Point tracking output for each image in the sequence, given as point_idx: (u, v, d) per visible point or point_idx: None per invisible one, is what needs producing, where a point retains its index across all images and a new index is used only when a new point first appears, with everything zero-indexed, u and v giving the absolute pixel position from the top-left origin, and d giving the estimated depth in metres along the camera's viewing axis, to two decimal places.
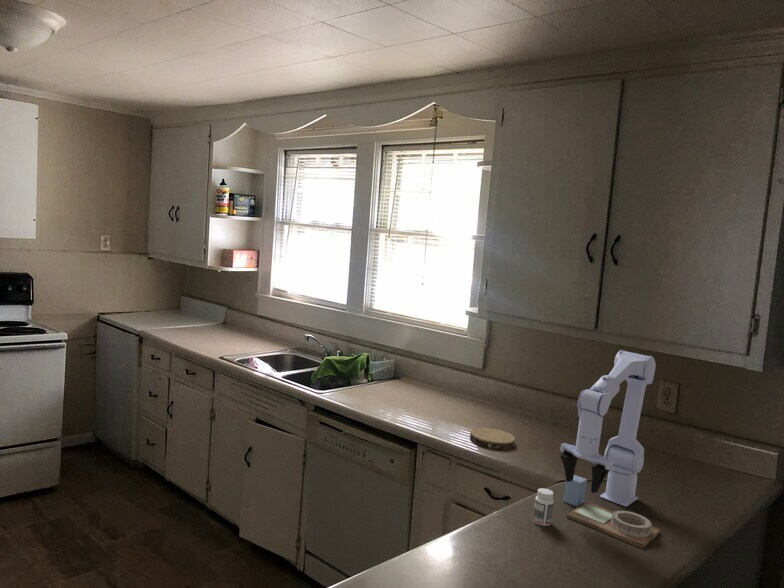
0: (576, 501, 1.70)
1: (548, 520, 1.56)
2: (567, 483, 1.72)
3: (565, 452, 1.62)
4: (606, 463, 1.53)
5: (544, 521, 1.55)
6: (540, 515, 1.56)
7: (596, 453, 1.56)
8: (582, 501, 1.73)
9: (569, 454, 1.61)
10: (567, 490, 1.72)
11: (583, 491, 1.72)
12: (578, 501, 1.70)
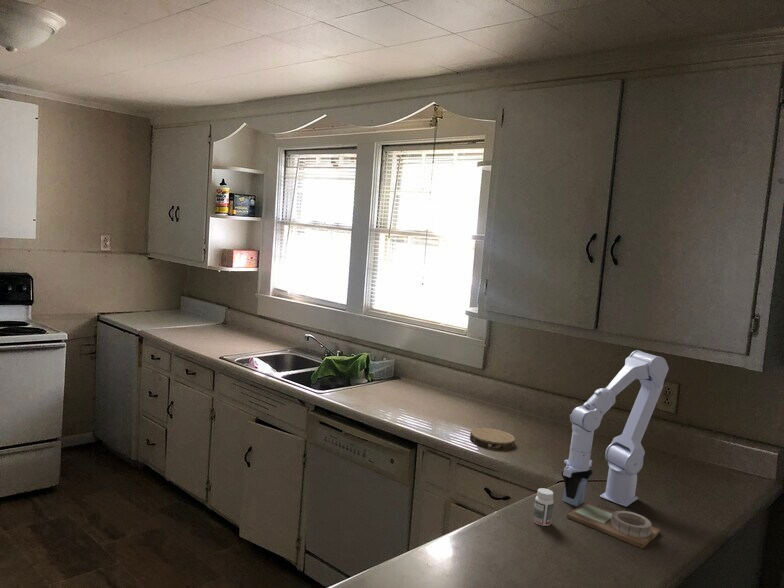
0: (576, 501, 1.70)
1: (548, 520, 1.56)
2: None
3: None
4: None
5: (544, 521, 1.55)
6: (540, 515, 1.56)
7: (574, 463, 1.70)
8: (582, 501, 1.73)
9: None
10: None
11: (583, 491, 1.72)
12: (578, 501, 1.70)
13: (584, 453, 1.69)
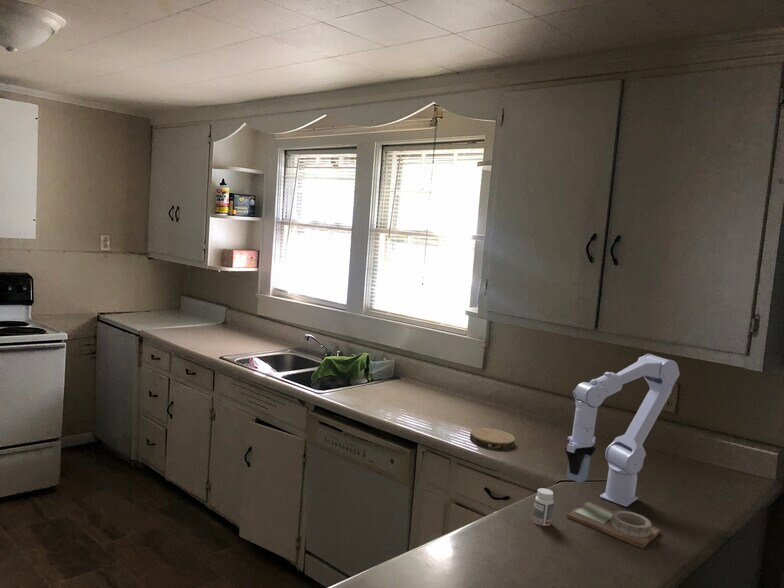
0: (580, 477, 1.70)
1: (548, 520, 1.56)
2: None
3: None
4: None
5: (544, 521, 1.55)
6: (540, 515, 1.56)
7: (578, 439, 1.69)
8: (586, 477, 1.72)
9: None
10: None
11: (587, 467, 1.71)
12: (581, 477, 1.69)
13: (588, 429, 1.68)
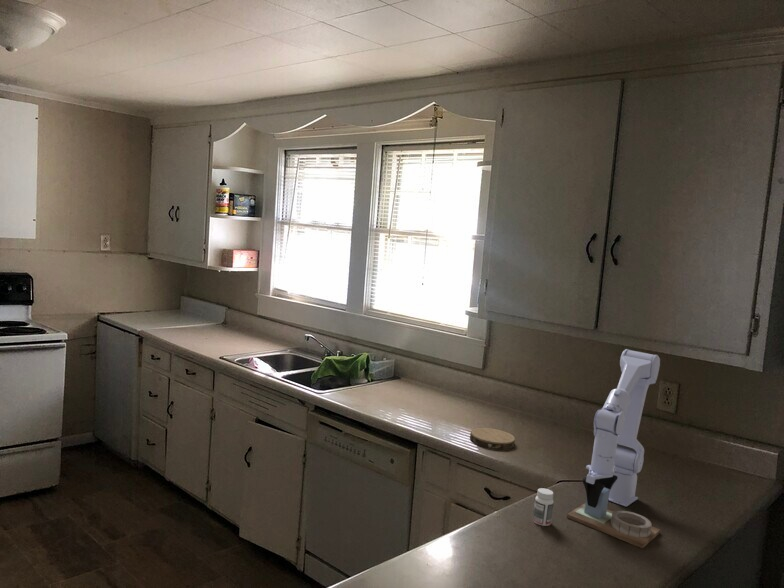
0: (599, 512, 1.61)
1: (548, 520, 1.56)
2: None
3: None
4: None
5: (544, 521, 1.55)
6: (540, 515, 1.56)
7: (597, 469, 1.61)
8: (605, 512, 1.63)
9: None
10: None
11: (606, 502, 1.63)
12: (600, 513, 1.61)
13: (608, 458, 1.60)
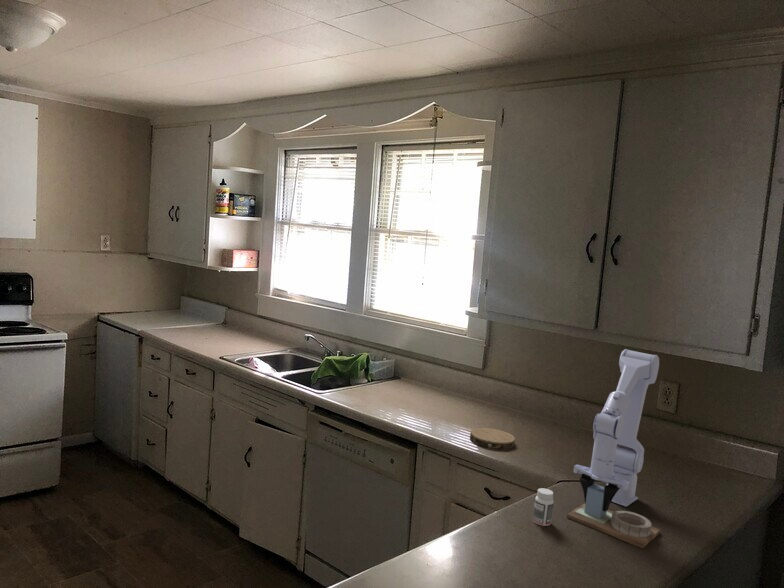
0: (599, 513, 1.61)
1: (548, 520, 1.56)
2: (589, 493, 1.63)
3: None
4: (623, 484, 1.58)
5: (544, 521, 1.55)
6: (540, 515, 1.56)
7: (611, 474, 1.61)
8: (605, 512, 1.63)
9: (583, 476, 1.65)
10: (590, 500, 1.63)
11: None
12: (601, 513, 1.61)
13: None
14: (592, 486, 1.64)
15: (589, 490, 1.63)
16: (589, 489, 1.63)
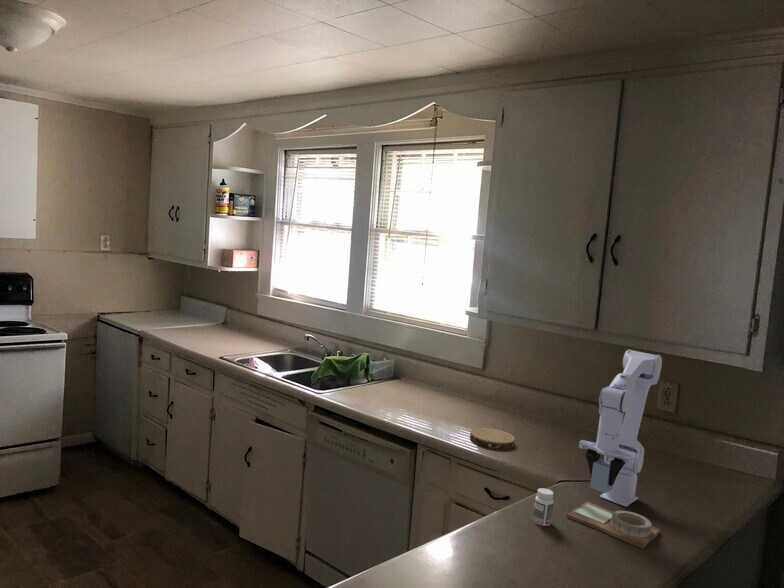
0: (605, 487, 1.60)
1: (548, 520, 1.56)
2: (595, 468, 1.62)
3: None
4: (629, 458, 1.57)
5: (544, 521, 1.55)
6: (540, 515, 1.56)
7: (617, 449, 1.60)
8: (611, 487, 1.62)
9: (589, 451, 1.64)
10: (595, 475, 1.62)
11: None
12: (606, 487, 1.60)
13: None
14: (598, 461, 1.63)
15: (595, 465, 1.62)
16: (595, 464, 1.62)
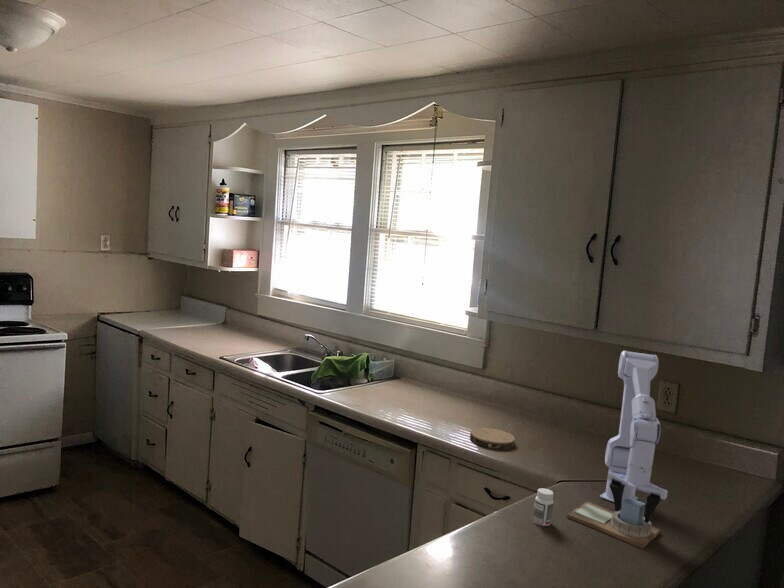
0: None
1: (548, 520, 1.56)
2: (624, 508, 1.56)
3: (613, 481, 1.60)
4: (662, 493, 1.52)
5: (544, 521, 1.55)
6: (540, 515, 1.56)
7: (649, 482, 1.55)
8: None
9: (618, 483, 1.59)
10: (624, 515, 1.56)
11: (641, 516, 1.56)
12: None
13: None
14: (626, 500, 1.58)
15: (624, 504, 1.56)
16: (624, 503, 1.56)
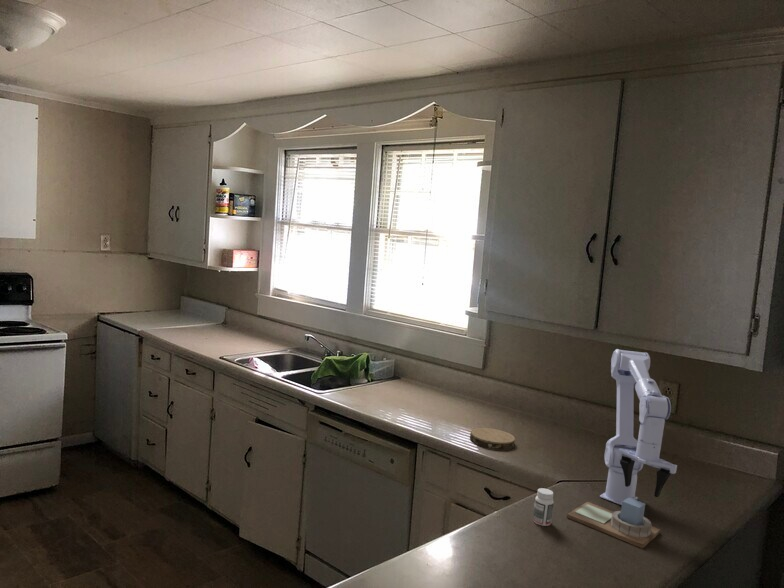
0: None
1: (548, 520, 1.56)
2: (624, 508, 1.56)
3: (623, 457, 1.63)
4: (671, 467, 1.55)
5: (544, 521, 1.55)
6: (540, 515, 1.56)
7: (658, 457, 1.58)
8: None
9: (628, 459, 1.62)
10: (624, 515, 1.56)
11: (641, 516, 1.56)
12: None
13: None
14: (626, 500, 1.58)
15: (624, 504, 1.56)
16: (624, 503, 1.56)
